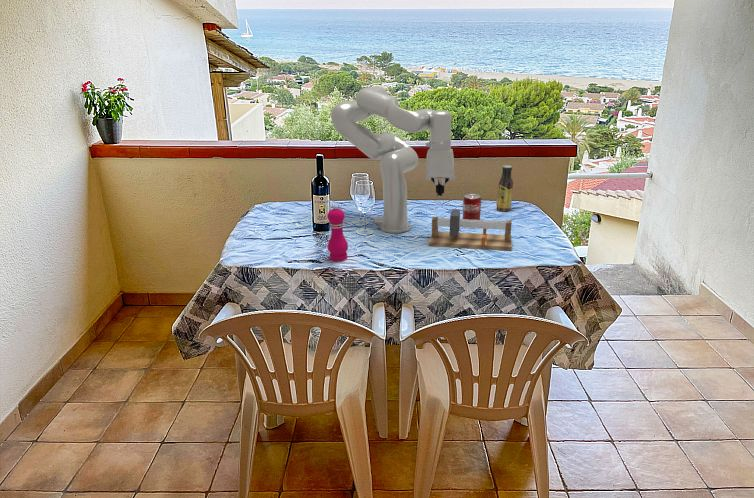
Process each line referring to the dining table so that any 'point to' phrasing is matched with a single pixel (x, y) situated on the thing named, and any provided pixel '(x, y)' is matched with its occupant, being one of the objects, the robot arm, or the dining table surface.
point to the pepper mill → (337, 235)
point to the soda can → (471, 207)
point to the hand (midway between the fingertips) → (440, 194)
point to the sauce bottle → (505, 189)
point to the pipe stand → (471, 239)
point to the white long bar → (474, 223)
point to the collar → (454, 222)
